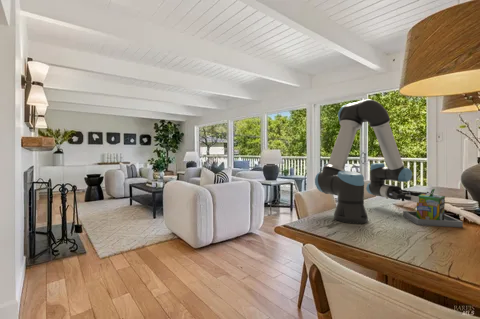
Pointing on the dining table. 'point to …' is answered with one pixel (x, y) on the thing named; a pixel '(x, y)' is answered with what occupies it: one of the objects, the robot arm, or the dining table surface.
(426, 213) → the chalk box
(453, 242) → the dining table surface
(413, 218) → the tray
